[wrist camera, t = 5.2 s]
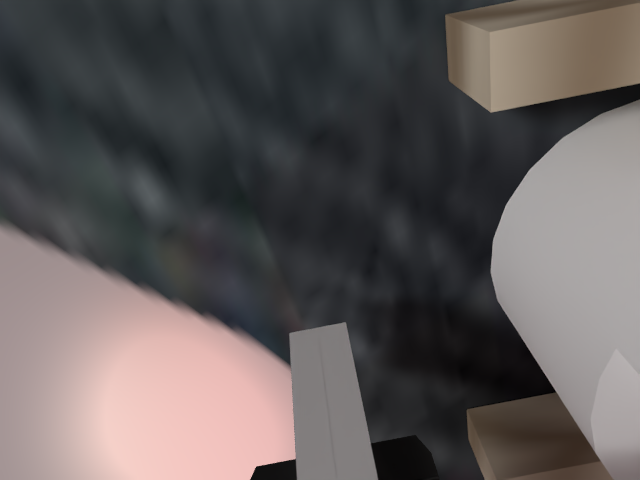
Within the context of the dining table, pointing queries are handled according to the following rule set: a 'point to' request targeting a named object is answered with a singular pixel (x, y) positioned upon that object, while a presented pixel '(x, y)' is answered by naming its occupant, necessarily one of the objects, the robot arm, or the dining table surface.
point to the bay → (520, 90)
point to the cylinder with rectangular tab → (582, 279)
